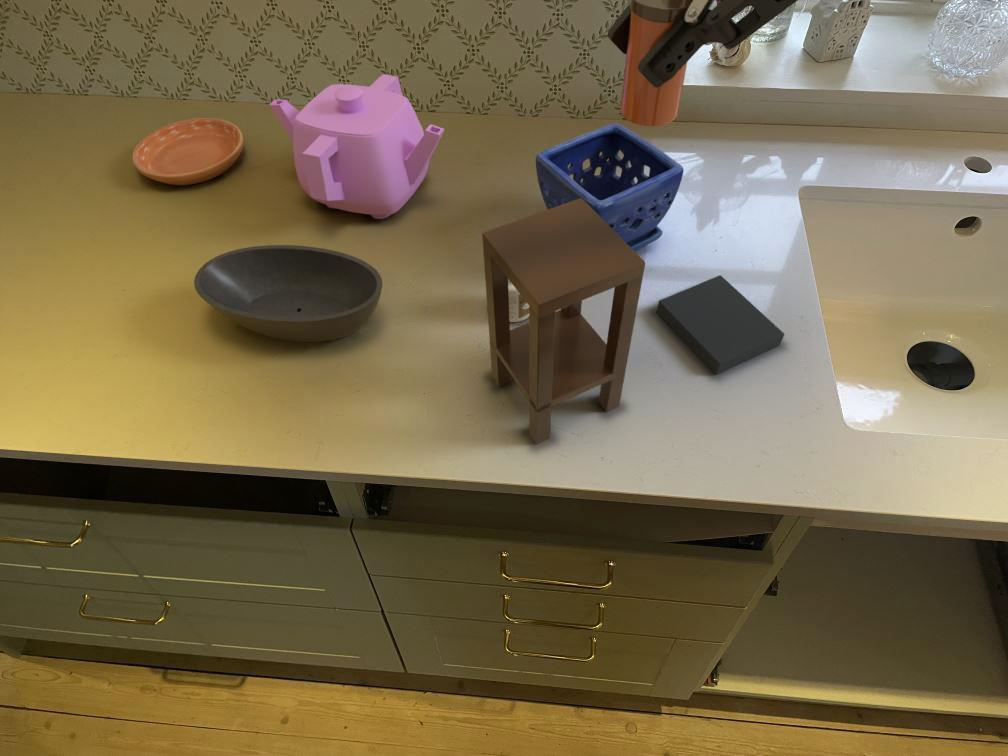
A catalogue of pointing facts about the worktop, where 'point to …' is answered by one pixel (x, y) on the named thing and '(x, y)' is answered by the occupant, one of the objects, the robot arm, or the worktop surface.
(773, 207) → the worktop surface
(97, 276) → the worktop surface
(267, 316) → the bowl
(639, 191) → the flower pot
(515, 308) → the pill bottle
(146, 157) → the saucer
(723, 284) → the pad
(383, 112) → the teapot
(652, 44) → the spice jar
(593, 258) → the stand
